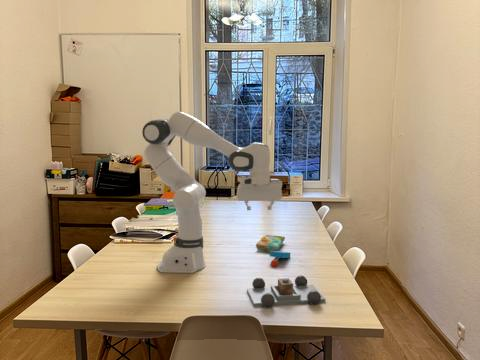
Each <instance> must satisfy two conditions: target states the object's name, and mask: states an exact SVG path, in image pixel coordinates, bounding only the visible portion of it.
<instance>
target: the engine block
mask: <svg viewBox="0 0 480 360" xmlns="http://www.w3.org/2000/svg"><path fill="white" fill-rule="evenodd" d="M277 285H278V292H279V294H280V295H293V286H294V283H293V282H292V280H291V278H289V277H288V278H286V277H284V278H278V279H277Z"/></svg>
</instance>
